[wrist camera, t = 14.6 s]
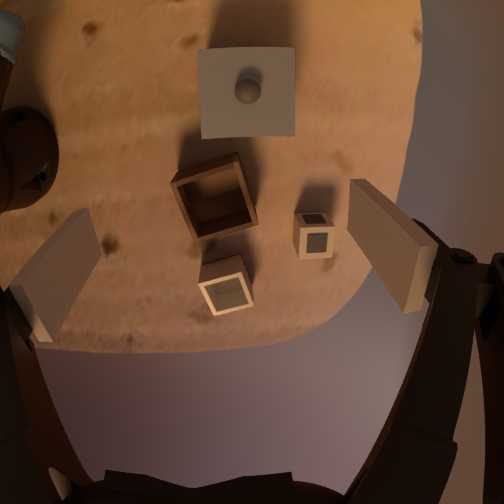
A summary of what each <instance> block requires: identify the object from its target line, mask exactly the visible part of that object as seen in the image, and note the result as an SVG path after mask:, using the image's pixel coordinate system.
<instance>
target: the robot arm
mask: <svg viewBox="0 0 504 504" xmlns="http://www.w3.org/2000/svg"><path fill="white" fill-rule="evenodd" d="M24 29H25V26H24V22H23V20H22V19H21V18H20V17H19V16H18V15H16V14H14V13H12V12H9V11H7V10H4V9H1V8H0V214H2V213H3V212H6V211H11V210H16V209H21V208H26V207H28V206H31V205H32V204H34V203H36V202H37V201H38V200H39V199H41V198H42V197H43V196H44V195H45V194H46V193H47V192H48V191H49V189H50V188H51V186H52V184H53V182H54V180H55V177H56V174H57V169H58V146H57V141H56V137H55V134H54V132H53V129H52V127H51V126H50V124H49V122H48V121H47V120H46V118H45V117H44V116H43V115H42V114H41V113H40V112H38V111H37V110H35V109H33V108H30V107H26V106H18V107H14V108H10V109H6V110H4V111H2V112H1V108H2V104H3V99H4V96H5V92H6V89H7V85H8V82H9V79H10V75H11V72H12V69H13V66H14V65H15V64H16V61H17V60H16V56H17V53H18V49H19V46H20V43H21V40H22V37H23V34H24ZM347 230H348V231H349V233H350V234H351V235H352V237H353V238H354V240H355V241H356V243H357V244H358V245H359V247H360V248H361V250H362V251H363V253H364V254H365V256H366V257H367V258H368V260H369V261H370V263H371V264H372V266H373V267H374V269H375V270H376V272H377V273H378V275H379V276H380V278H381V279H382V281H383V282H384V284H385V285H386V287H387V289H388V290H389V291H390V293H391V295H392V296H393V298H394V300H395V301H396V303H397V304H398V306H399V308H400V309H401V311H402V312H403V314H404V313H409V312H414V311H418V310H421V307H422V304H423V300H424V297H425V298H426V299H427V300H428V302H429V303H430V305H429V308H428V311H427V313H426V317H425V319H424V322H423V325H422V330H421V333H420V337H419V339H418V343H417V345H416V348H415V352H414V354H413V357H412V360H411V362H410V365H409V368H408V371H407V373H406V376H405V378H404V381H403V383H402V385H401V388H400V390H399V393H398V395H397V398H396V400H395V402H394V404H393V407H392V409H391V411H390V413H389V416H388V418H387V420H386V422H385V424H384V426H383V428H382V430H381V432H380V434H379V437H378V438H377V440H376V442H375V444H374V446H373V448H372V450H371V452H370V454H369V455H368V457H367V459H366V461H365V463H364V464H363V466H362V468H361V469H360V471H359V473H358V474H357V476H356V477H355V479H354V481H353V482H352V484H351V485H350V487H349V488H348V490H347V492H346V493H345V495H342V494H340V493H338V492H336V491H334V490H331V489H329V488H327V487H324V486H320V485H317V484H313V483H307V482H300V481H293V479H292V473H291V472H285V473H277V474H269V475H268V474H267V475H256V476H242V477H239V478H235V479H232V480H228V481H224V482H220V483H216V484H212V485H207V486H203V487H199V488H187V487H184V486H180V485H176V484H173V483H169V482H166V481H163V480H160V479H156V478H153V477H150V476H148V475H143V474H132V473H125V472H118V471H111V470H106V471H105V476H104V480H100V481H95V482H94V481H93V480H92V479H91V478H90V477H89V476H88V474H87V473H86V472H85V470H84V468H83V466H82V464H81V463H80V461H79V459H78V457H77V455H76V453H75V451H74V449H73V447H72V445H71V443H70V441H69V438H68V436H67V434H66V432H65V430H64V428H63V425H62V423H61V421H60V418H59V416H58V414H57V411H56V409H55V407H54V404H53V401H52V399H51V396H50V393H49V391H48V388H47V385H46V382H45V380H44V377H43V374H42V371H41V368H40V365H39V361H38V358H37V355H36V352H35V348H34V344H33V343H32V341H31V339H30V338H29V336H30V334H31V332H32V331H33V332H34V333H35V335H36V337H37V338H38V340H39V342H53V341H54V339H55V337H56V335H57V333H58V331H59V329H60V328H61V326H62V324H63V322H64V320H65V318H66V316H67V314H68V312H69V310H70V309H71V307H72V305H73V303H74V301H75V299H76V298H77V296H78V294H79V292H80V291H81V289H82V287H83V285H84V284H85V282H86V280H87V278H88V277H89V275H90V273H91V272H92V270H93V268H94V267H95V265H96V263H97V262H98V260H99V259H100V257H101V255H102V252H101V249H100V246H99V243H98V240H97V236H96V233H95V230H94V227H93V223H92V220H91V217H90V213H89V210H88V208H83V209H78V210H75V211H74V212H73V213H72V214H71V215H70V216H69V217H68V218H67V219H66V220H65V221H64V222H63V223H62V224H61V225H60V226H59V228H58V229H57V230H56V231H55V232H54V233H53V234H52V235H51V236H50V237H49V238H48V239H47V240H46V241H45V243H44V244H43V245H42V246H41V247H40V248H39V249H38V250H37V251H36V253H35V254H34V255H33V256H32V257H31V258H30V260H29V261H28V262H27V263H26V264H25V265H24V267H23V268H22V269H21V270H20V271H19V273H18V274H17V275H16V276H15V278H14V279H13V280H12V281H11V283H10V284H9V285H8V288H7V289H6V290H5V292H3V290H2V288H1V286H0V504H438V503H439V501H440V499H441V496H442V494H443V491H444V489H445V486H446V483H447V481H448V478H449V475H450V472H451V470H452V467H453V464H454V461H455V457H456V453H457V443H456V442H454V441H453V434H454V431H455V427H456V423H457V420H458V416H459V412H460V408H461V404H462V399H463V395H464V391H465V386H466V381H467V375H468V370H469V364H470V358H471V351H472V344H473V335H474V329H475V334H476V339H477V346H478V352H479V359H480V366H481V375H482V384H483V396H484V411H485V470H484V471H485V472H484V486H483V487H484V488H483V504H504V253H499V252H498V253H495V254H494V255H493V257H492V260H491V263H490V264H482V263H478V262H477V259H476V258H475V256H474V255H472V254H471V253H469V252H468V251H465V250H463V249H458V248H449V247H448V246H447V245H446V244H445V243H444V242H443V241H442V240H441V239H440V238H439V237H438V236H436V235H435V234H434V233H433V232H432V231H430V229H429V228H428V227H427V226H425V225H424V224H423V223H421V222H419V221H417V220H416V219H411V218H410V217H409V216H408V215H406V214H405V213H404V212H403V211H402V210H401V209H400V208H398V207H397V206H396V205H395V204H394V203H393V202H392V201H391V200H389V199H388V198H387V197H386V196H385V195H384V194H382V193H381V192H380V191H379V190H378V189H376V188H375V187H374V186H373V185H371V184H370V183H369V182H368V181H367V180H365V179H350V196H349V213H348V228H347Z"/></svg>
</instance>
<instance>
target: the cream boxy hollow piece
mask: <svg viewBox="0 0 504 504" xmlns="http://www.w3.org/2000/svg"><path fill="white" fill-rule="evenodd" d="M334 235H335V225H334V224H333V222H332V221H331V219H330V218H329V216H328V215H327V213H326V212H321V213H294V226H293V245H294V247H295V250H296V253H297V256H298V259H314V258H332V253H333V244H334Z"/></svg>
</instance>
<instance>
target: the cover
mask: <svg viewBox="0 0 504 504" xmlns="http://www.w3.org/2000/svg"><path fill="white" fill-rule="evenodd" d="M197 55H198V81H199V102H200V120H201V137H202V139H212V138H229V137H256V136H295V48H291V47H231V48H213V49H200V50H197Z"/></svg>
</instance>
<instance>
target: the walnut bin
mask: <svg viewBox="0 0 504 504" xmlns="http://www.w3.org/2000/svg"><path fill="white" fill-rule="evenodd" d="M170 186H171V188H172V191H173V193H174V196H175V198H176V200H177V203H178V205H179V208H180V210H181V212H182V215H183V217H184V220H185V222H186V224H187V227H188V229H189V231H190V234H191V236H192V238H193V241H194V243H199V242H202V241H205V240H208V239H212V238H215V237H219V236H222V235H225V234H229V233H232V232H235V231H239V230H242V229H246V228H249V227H252V226H256V225H259V224H258V218H257V213H256V208H255V205H254V201H253V198H252V195H251V192H250V189H249V186H248V183H247V180H246V176H245V173H244V170H243V167H242V164H241V161H240V158H239V155H238V152H235V153H232V154H229V155H226V156H223V157H220V158H216V159H213V160H210V161H207V162H204V163H201V164H198V165H195V166H193V167H190V168H187V169H184V170H181V171H178V172H177V173H176V175H175V176H174V178H173V179H172V181H171V183H170Z"/></svg>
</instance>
